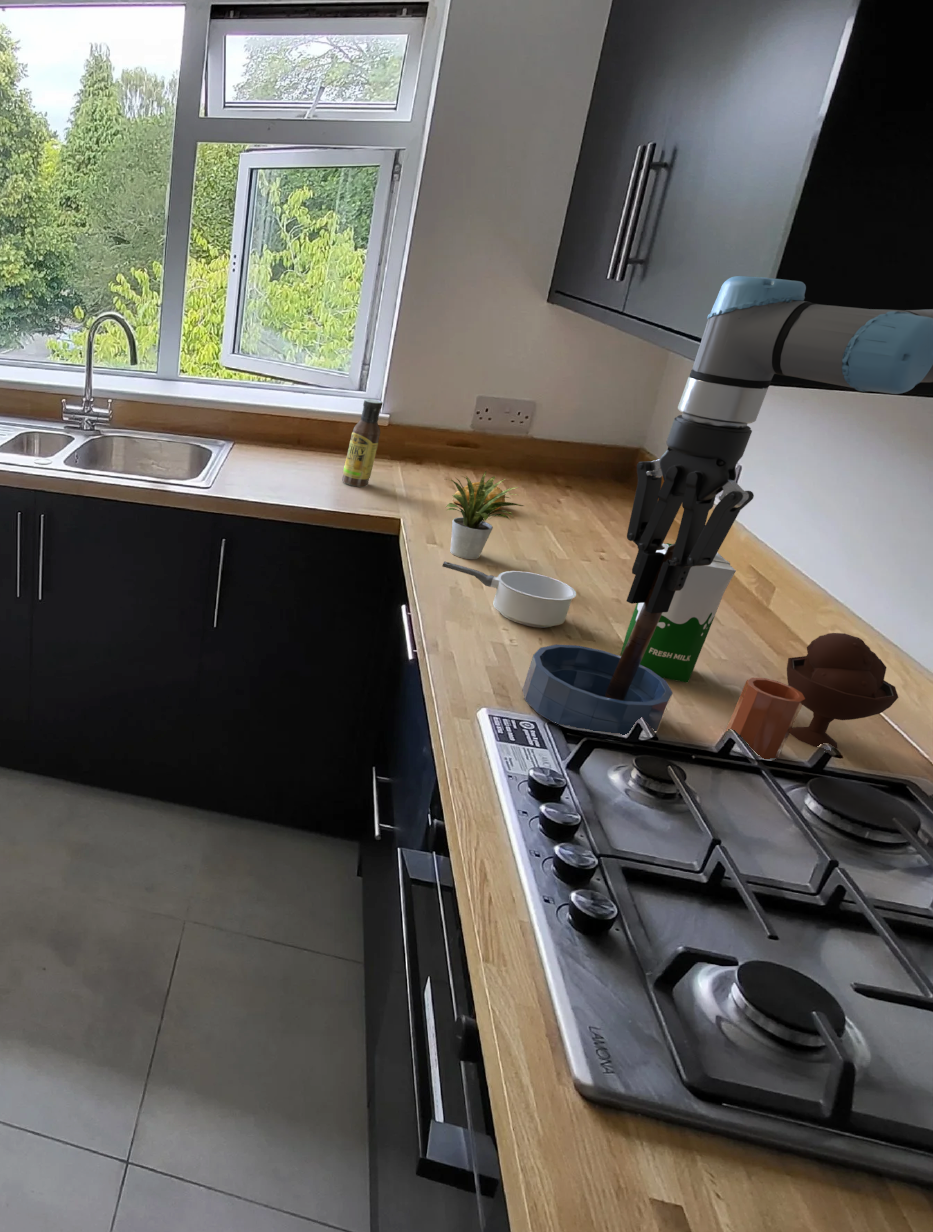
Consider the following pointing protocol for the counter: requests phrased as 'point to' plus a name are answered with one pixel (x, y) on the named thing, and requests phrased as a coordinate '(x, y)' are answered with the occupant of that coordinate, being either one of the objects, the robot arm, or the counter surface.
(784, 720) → the utensil pot
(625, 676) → the cooking stick
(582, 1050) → the counter surface
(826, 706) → the ice cream bowl
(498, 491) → the bagel
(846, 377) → the robot arm
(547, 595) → the saucepan
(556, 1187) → the counter surface
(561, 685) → the mixing bowl
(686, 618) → the milk carton
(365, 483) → the sauce bottle
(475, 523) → the house plant
